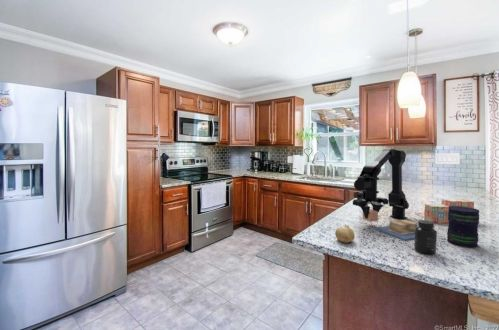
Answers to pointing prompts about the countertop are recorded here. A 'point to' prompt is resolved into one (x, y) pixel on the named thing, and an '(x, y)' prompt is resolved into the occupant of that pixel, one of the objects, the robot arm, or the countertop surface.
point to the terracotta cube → (371, 215)
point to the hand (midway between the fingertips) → (370, 217)
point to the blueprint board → (401, 236)
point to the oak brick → (402, 226)
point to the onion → (345, 234)
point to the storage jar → (463, 226)
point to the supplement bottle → (425, 238)
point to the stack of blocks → (443, 209)
